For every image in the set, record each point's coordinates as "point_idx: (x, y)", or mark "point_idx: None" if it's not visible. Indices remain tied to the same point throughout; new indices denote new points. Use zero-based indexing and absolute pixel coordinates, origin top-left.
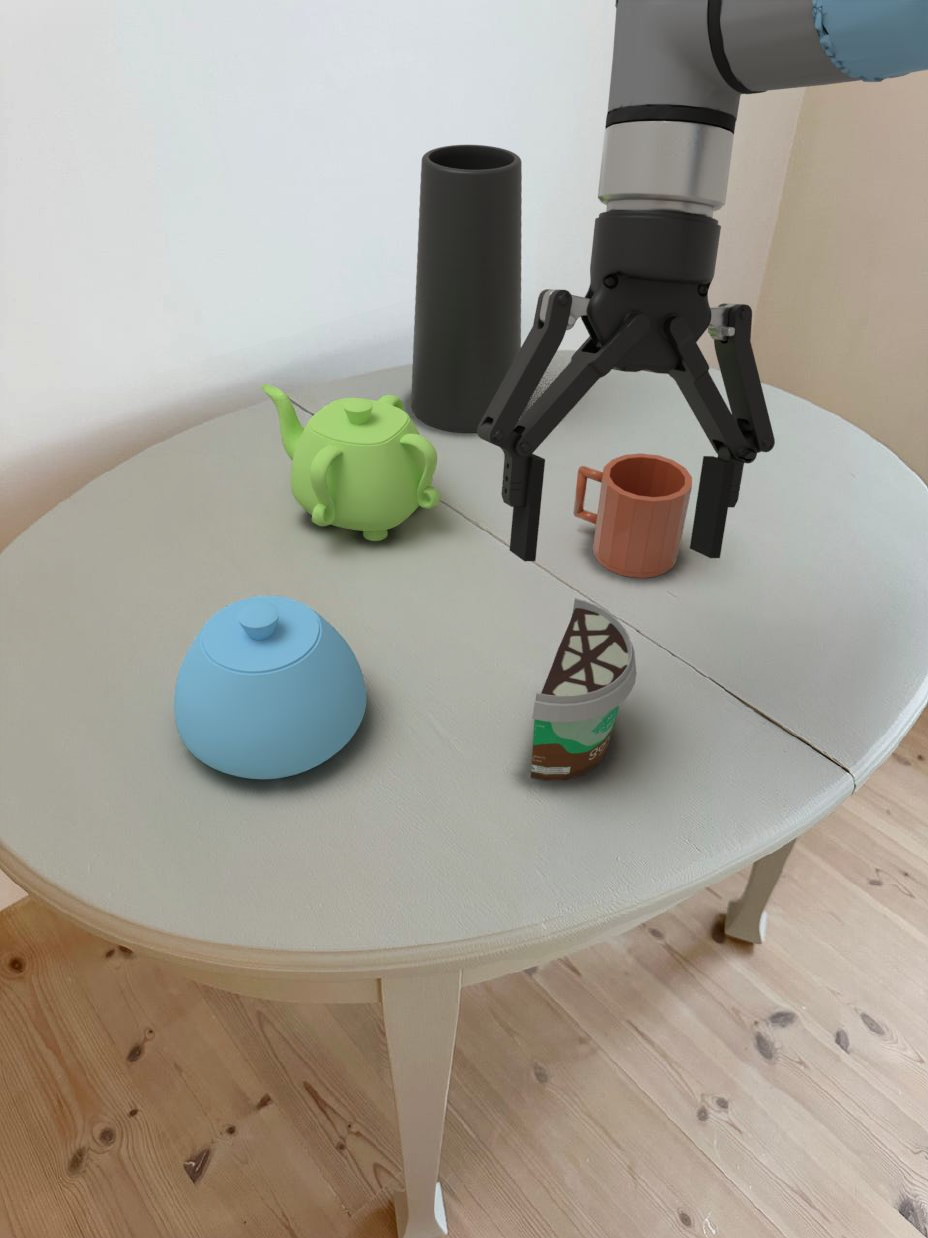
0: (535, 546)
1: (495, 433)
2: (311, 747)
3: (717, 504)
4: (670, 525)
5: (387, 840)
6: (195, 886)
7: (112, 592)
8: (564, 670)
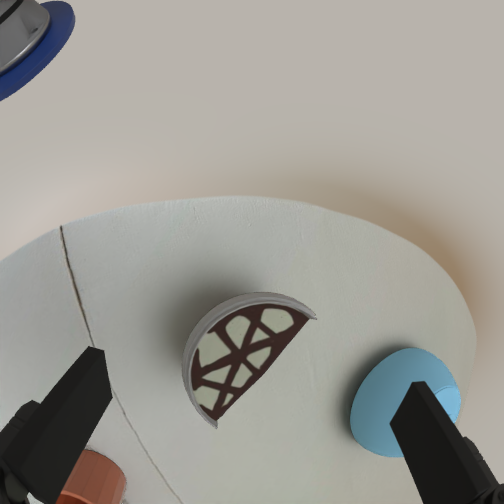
0: (422, 394)
1: None
2: (406, 355)
3: (60, 412)
4: (70, 474)
5: (371, 294)
6: (442, 297)
7: (410, 483)
8: (270, 346)
